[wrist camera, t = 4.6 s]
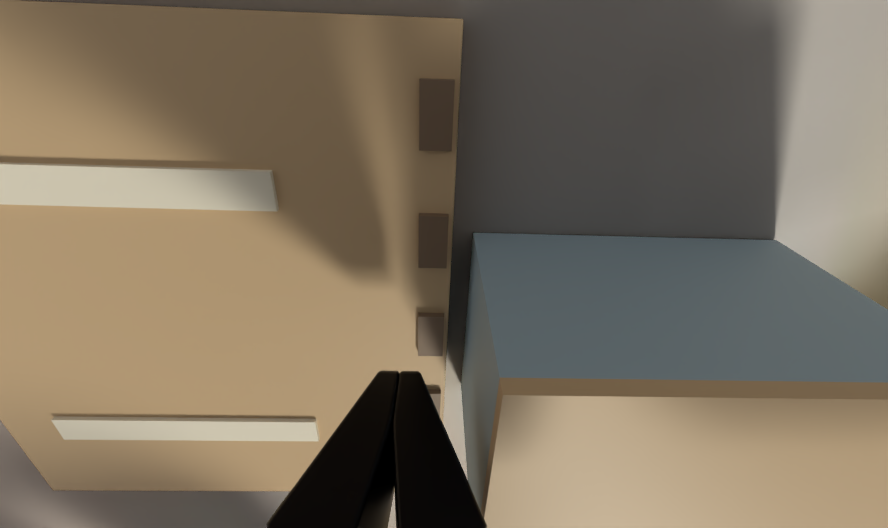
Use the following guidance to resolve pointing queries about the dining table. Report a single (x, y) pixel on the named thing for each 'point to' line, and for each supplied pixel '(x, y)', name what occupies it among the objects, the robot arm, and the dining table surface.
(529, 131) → the dining table surface
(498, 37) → the dining table surface
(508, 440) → the stub
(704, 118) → the dining table surface
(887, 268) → the dining table surface
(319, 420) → the pad
